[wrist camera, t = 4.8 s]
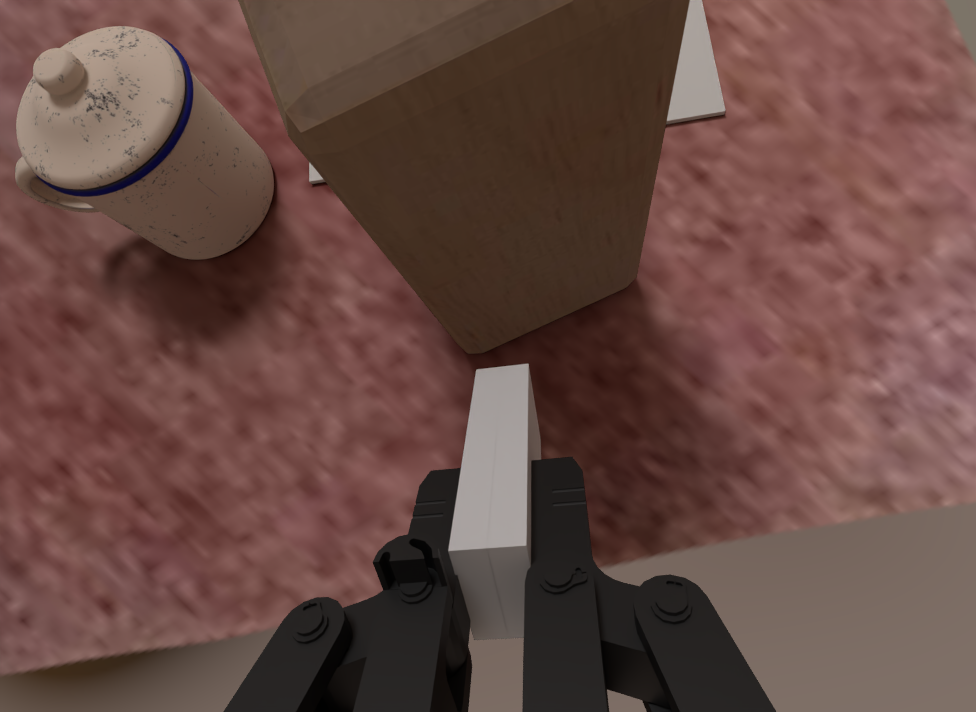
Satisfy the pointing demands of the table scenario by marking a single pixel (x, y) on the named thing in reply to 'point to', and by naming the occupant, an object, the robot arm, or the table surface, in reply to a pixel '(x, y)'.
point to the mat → (679, 77)
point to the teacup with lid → (140, 144)
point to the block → (483, 140)
